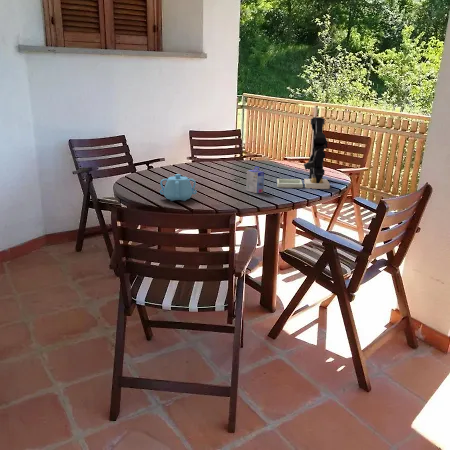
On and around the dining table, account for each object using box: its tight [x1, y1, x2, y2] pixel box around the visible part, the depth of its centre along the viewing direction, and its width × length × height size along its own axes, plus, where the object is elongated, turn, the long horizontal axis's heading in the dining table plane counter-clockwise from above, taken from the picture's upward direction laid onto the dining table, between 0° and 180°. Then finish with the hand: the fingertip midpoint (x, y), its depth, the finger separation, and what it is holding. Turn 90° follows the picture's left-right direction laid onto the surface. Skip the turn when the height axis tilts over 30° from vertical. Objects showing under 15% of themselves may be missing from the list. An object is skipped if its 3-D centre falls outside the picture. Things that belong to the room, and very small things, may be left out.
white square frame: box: [303, 178, 331, 190], centre depth 276 cm, size 14×14×3 cm
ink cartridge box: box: [245, 165, 265, 194], centre depth 259 cm, size 10×6×14 cm, turn 38°
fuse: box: [311, 174, 324, 183], centre depth 275 cm, size 4×6×7 cm
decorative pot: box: [159, 173, 198, 202], centre depth 242 cm, size 16×16×14 cm
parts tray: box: [276, 178, 304, 189], centre depth 277 cm, size 14×15×2 cm
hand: (316, 182), depth 276 cm, fingers open, 8 cm apart
